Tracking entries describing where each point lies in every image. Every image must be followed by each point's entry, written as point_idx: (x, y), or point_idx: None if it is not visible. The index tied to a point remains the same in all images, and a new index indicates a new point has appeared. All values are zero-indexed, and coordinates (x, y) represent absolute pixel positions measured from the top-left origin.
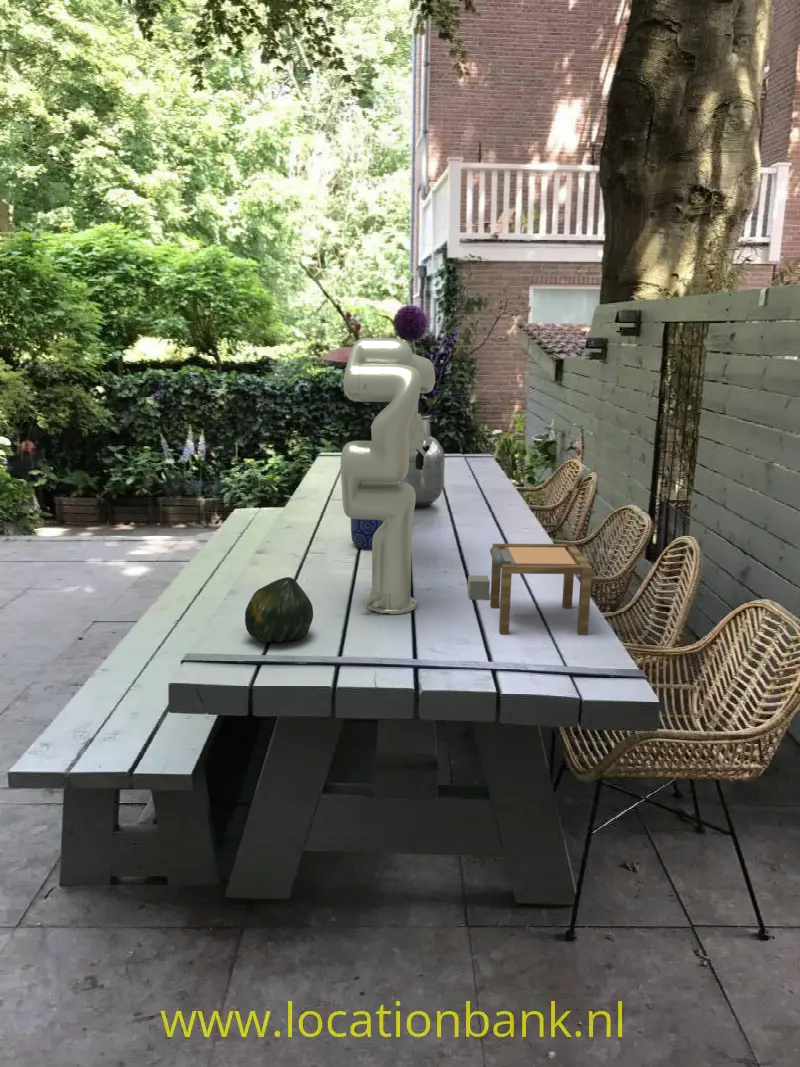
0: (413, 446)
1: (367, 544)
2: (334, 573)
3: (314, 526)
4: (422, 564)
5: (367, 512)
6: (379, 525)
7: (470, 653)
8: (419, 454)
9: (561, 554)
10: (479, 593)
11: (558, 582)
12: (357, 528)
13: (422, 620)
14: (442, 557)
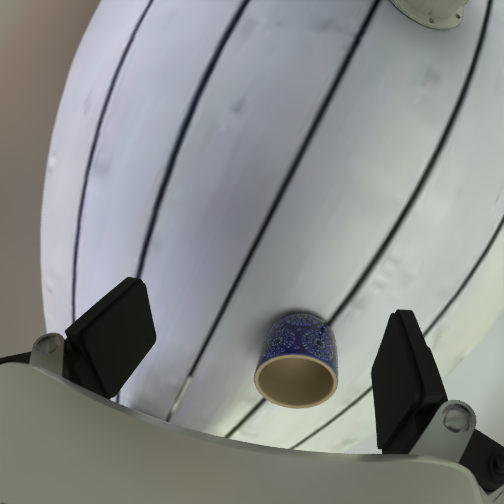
0: (69, 428)
1: (319, 318)
2: (450, 206)
3: (316, 435)
4: (259, 175)
5: None
6: (290, 337)
7: None
8: (83, 369)
9: None
10: None
11: (103, 19)
12: (335, 351)
13: None
14: (197, 205)
